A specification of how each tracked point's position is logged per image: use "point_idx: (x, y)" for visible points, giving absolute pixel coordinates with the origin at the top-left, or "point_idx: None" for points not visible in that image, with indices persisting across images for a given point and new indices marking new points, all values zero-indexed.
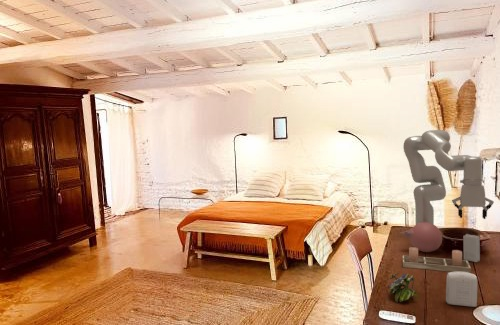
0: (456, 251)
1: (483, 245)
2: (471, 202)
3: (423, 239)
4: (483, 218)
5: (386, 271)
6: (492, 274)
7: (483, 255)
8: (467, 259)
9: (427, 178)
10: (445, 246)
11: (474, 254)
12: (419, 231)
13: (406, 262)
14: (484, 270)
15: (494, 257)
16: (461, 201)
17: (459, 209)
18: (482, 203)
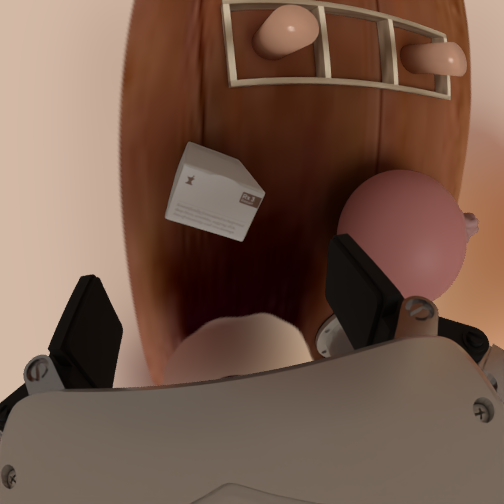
0: (298, 24)
1: (174, 342)
2: (295, 475)
3: (427, 176)
4: (101, 283)
5: (457, 9)
6: (138, 29)
7: (164, 244)
8: (224, 154)
9: None
10: (296, 291)
11: (196, 148)
12: (456, 206)
13: (437, 31)
14: (163, 58)
15: (127, 237)
16: (498, 396)
17: (410, 305)
18: (24, 449)
